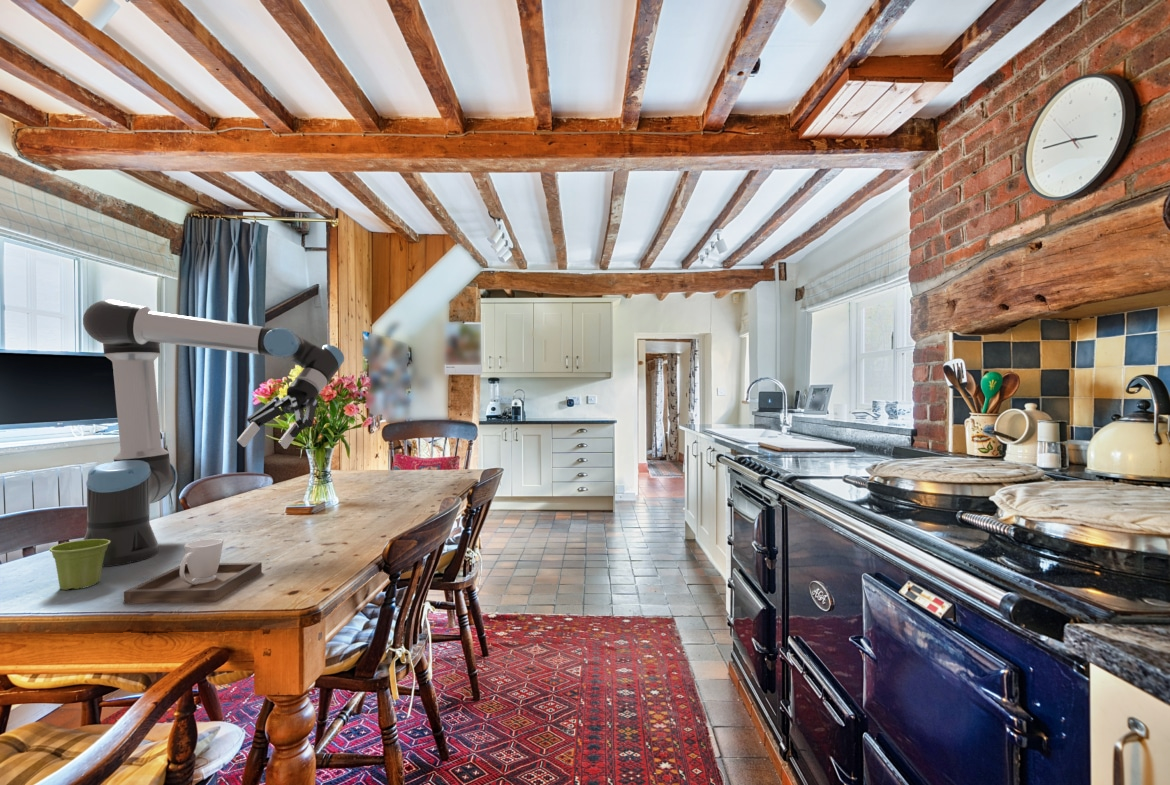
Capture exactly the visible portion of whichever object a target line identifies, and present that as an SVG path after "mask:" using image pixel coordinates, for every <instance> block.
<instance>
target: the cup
mask: <svg viewBox="0 0 1170 785" xmlns="http://www.w3.org/2000/svg"><path fill="white" fill-rule="evenodd" d="M224 541H225V540H224V539H220V538H216V537H215V538H203V539H202V538H201V539H198V540H195V541H189V542H187V543H186V544H184V546H183V547H184V552H185V553H184V556H183V557H182V560H181V561H180V565H179V566H180V573H179V574H180V578H181V579H182V580H183V581H184V582H186V583H188V584H193V585H197V584H199V583H207V582H210V581H213V580H215V579H216V576H214V575H215V574H216V573H217V570H218V567H219V563H221V557H222V552H223V548H224V547H223V546H224ZM185 564H187V565H188V570H189V573H190V576H191V577H192V578H194V579H193V580H192V582H191V581H189V580H188V579H187V578H186V577H185V574H184V569H185Z"/></svg>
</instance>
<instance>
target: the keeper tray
mask: <svg viewBox="0 0 1170 785" xmlns="http://www.w3.org/2000/svg"><path fill="white" fill-rule="evenodd" d="M262 562H263V561H262ZM262 562H258V561H257V562H220V563H219V567H218V570H217V573H216V574H215V575H214V576H216V579H215V580H213V581H210V582H207V583H199V584H197V585H193V584H188V583H186V582H184V581H183V580H182V579H181V578H180V574H179V573H180V565H177V566H175V567H174V568H171V569H169V570H167V571H165V572H163V573H161V574H159V575H156V576H154V577H153V578H150V579H148V580H145V581H144V582H142V583H140V584H137V585H135V586H133V587H131V588H129V589H127V590H125V591H123V604H127V605H128V604H161V603H164V604H168V603H169V604H170V603H205V602H206V603H209V602H211V603H213V602H218V600H221V599H222V598H224V597H225V596H227V595H228V594H229V593H231V592H233V591H235V590H236V589H237V588H239V587H241V586H242V585H244V584H246V583H248V582H249V581H250V580H252V579H254V578H255V577H256V576H258V575H260V574H262V573H263V572H262V567H263V566H262ZM184 574H185V577H186V578H187V579H188V580H189V581H191V582H192V580H193V579H194V578H192V577H191V576H190V573H189V570H188V565H187V563H185V569H184ZM253 577H254V578H253Z"/></svg>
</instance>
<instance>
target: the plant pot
mask: <svg viewBox="0 0 1170 785" xmlns="http://www.w3.org/2000/svg"><path fill="white" fill-rule="evenodd" d="M110 542H111V541H110V540H107V539H89V540H83V539H81V540H72V541H68V542H63V543H59V544H56V545H53V546H51V547H50V548H49V549H48V550H49V552H50V553H51V555H52V558H53V559H54V563H55V567H56V574H57V578H58V579H57V580H58V585H59V589H60V590H64V591H68V590H70V589H75V590H78V589H79V588H81V589H85V588H87V586H89V587H92V586H91V585H93V586H94V584H95V585H96V584H97V583H100V580H101V575H102V570H103V567H102V565H103V560H104V555H105V551H106V550H107V547H108V544H110ZM84 587H85V588H84Z"/></svg>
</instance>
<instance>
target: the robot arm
mask: <svg viewBox="0 0 1170 785" xmlns="http://www.w3.org/2000/svg"><path fill="white" fill-rule="evenodd" d="M82 325H83V328H84V330H85V331H86V333H87V334H88V335H89V336H90V337H91V338H92V339H94V340H95V341H97V342H99V343H101V344H102V347H103V356H104V357H106V358H107V359H108V360H110V361H111V363H112V369H113V382H114V391H115V392H114V393H115V405H116V416H117V424H118V425H117V426H118V435H119V436H118V438H119V446H120V447H119V448H120V451H119V452H118V453H117V454H116V455H115V456H114V457H113V461H111V462H105V463H101V464H98V465H95V466H93V467H91V468H90V469H89V470H88V473H87V479H86V484H85V485H86V517H87V518H86V523H87V524H86V533H85V535H84V537H83V539H82V540H89V539H107V540H110V541H111V542H110V544H108V547H107V550H106V551H105V555H104V560H103V565H102V568H103V567H111V566H118V565H119V566H120V565H125V564H129V563H134V562H138V561H142V560H145V559H148V558H151V557H153V556H156V555H158V552H159V542H158V539H157V538H156V535H155V532H154V531H153V528H152V525H151V522H150V513H151V510H150V506H151V504H154V503H157V502H159V501H161V500H163V499H164V498H165V497H167V496H168V495H169V494H171V492H172V491H173V490H174V489H175V487H176V486H177V482H178V471H177V468H175V466H174V465H173V464H172V463H171V459H170V452H169V451H168V450H166V449H165V448H164V447H163V446H162V436H161V429H160V428H161V426H160V425H161V424H160V416H159V415H160V414H159V404H158V393H157V381H156V370H155V369H156V368H155V360H156V359H157V358H158V357H159V356H161V347H160V344H161V343H163V344H167V345H168V344H169V345H178V346H186V347H194V348H203V349H212V350H221V351H229V352H235V353H236V352H238V353H245V354H255V355H262V356H269V357H275V358H276V357H277V358H283V359H286V360H287V361H290V362H292V363H294V364H295V365H297V366H299V367H301V368H302V370H301V372H300V373H298V375H297V376H296V377H295V379H294V380H293V381H292V382H291V383H290V385H289V386H288V387H287V389H286V395H285V396H284V397H283V398H279V396H274V397H273V398H272V399H271V400H270V401H269V402H268V403H266V404H265V405H264V406H262V407H260V408H259V409H258V410H257V411H255V412H254V413H252V414H250V415H249V416H248V417H247V418H246V419H245V420H246V421H247V422H248V423H249V424H248V425H247V426H246V428H245V429H244V430H243V432H242V433H241V434H240V435H239V437H238V438H237V439H236V441H237V443H238V444H239V445H240V446H241V447H243V448H246V447H247V445H248V444H249V443H250V442H251V441H252V439H253V438H254V437H256V435H257V433H259V431H260V430H261V428H260V427H261V426H263V425H265V424H267V423H268V422H270V421H272V420H274V419H276V418H277V417H279V416H284V415H285V414H293V415H295V417H294V418H295V420H294V422H292V423H291V425H290V426H289V427H288V429H287V430H286V431H285V432H284V434H283V435H282V436H281V437H280V439H279V440H278V441H277V442H278V443H279V444H280V445H281V447H282V448H283V449H284V450H285V449H286V450H287V449H288V448H289V446H290V444H291V445H292V442H293V441H294V439H296V437H298V436H299V435H300V433H301V432H302V431H303V430H305V429H306V428H309V429H310V428H312V427H313V425H314V420H315V416H316V415H315V414H316V409H317V407H318V406H319V402H318V401H317V398H318V397H319V395H320V394H321V392H322V391H323V389H325V387H326V386H327V385H328V384H329V382H330V381H331V380H332V378H333V377H334V376H335V374H336V373H337V372H338V371H339V369H340V368H341V366H342V365H343V363H344V362H345V356H344V353H343V352H342V350H341V349H340V348H338V347H337V346H335V345H331V344H324V345H322V346H321V347H320V346H318V345H316V344H313V343H312V342H309V341H308V340H306V339H305V338H303V337H301V336H300V335H298V334H296V333H294V332H293V331H292V330H289V329H288V328H284V327H277V328H275V327H268V326H267V327H265V326H260V325H254V324H253V325H252V324H244V323H237V322H230V321H224V320H216V319H210V318H202V317H195V316H187V315H181V314H172V313H165V312H160V311H152V310H151V309H150V308H149V307H148V306H144V305H137V304H132V303H129V302H128V303H127V302H125V301H122V300H118V299H104V300H99V301H97V302H95V303H93V304H91V305H90V306H89V307H88V308H86V310H85V312H84V314H83V318H82ZM304 408H305V409H304ZM280 440H282V441H280Z"/></svg>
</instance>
